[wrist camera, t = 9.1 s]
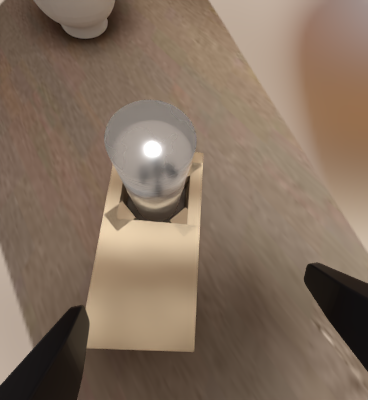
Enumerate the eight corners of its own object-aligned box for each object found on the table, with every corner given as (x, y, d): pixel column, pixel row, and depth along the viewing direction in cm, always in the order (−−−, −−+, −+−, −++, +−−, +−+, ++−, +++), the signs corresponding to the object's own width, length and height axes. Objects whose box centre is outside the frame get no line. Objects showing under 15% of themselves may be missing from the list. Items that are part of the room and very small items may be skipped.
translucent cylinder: (184, 213, 20) (209, 165, 10) (141, 227, 19) (117, 190, 9) (170, 175, 21) (180, 92, 11) (129, 186, 20) (95, 109, 10)
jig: (188, 336, 17) (194, 351, 14) (92, 332, 16) (78, 347, 14) (197, 166, 22) (203, 153, 19) (123, 158, 21) (117, 142, 18)
